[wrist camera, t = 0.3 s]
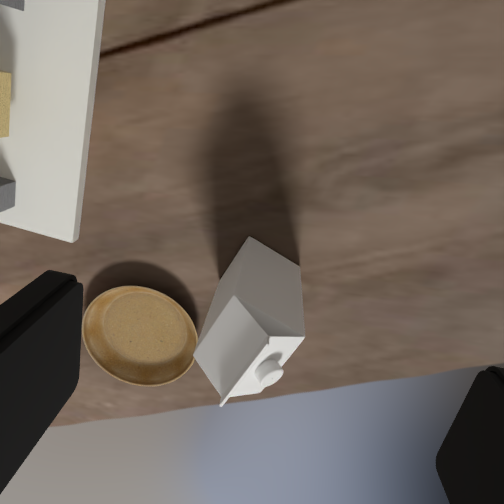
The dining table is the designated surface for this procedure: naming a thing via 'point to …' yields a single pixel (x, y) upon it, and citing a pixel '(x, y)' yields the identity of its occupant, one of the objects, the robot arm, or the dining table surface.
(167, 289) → the dining table surface
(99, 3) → the valve board
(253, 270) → the milk carton
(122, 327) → the plant saucer
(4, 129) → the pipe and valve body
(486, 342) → the dining table surface
